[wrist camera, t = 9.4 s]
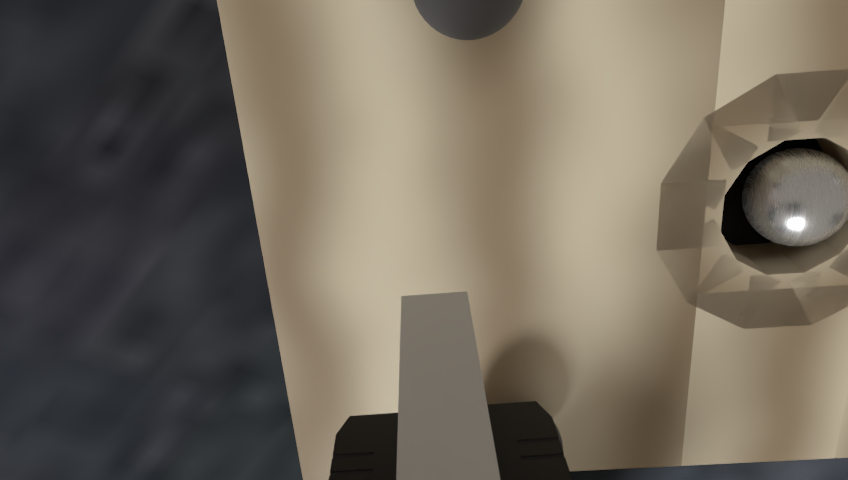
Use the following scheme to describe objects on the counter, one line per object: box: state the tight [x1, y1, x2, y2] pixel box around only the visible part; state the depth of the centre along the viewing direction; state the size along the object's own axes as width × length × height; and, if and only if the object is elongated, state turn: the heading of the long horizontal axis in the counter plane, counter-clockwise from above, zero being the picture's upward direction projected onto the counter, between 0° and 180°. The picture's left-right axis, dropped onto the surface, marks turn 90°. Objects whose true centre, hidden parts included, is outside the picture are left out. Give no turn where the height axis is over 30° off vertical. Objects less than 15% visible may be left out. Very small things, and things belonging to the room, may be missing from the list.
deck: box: [217, 0, 848, 480], centre depth 22 cm, size 24×20×2 cm
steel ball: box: [742, 148, 848, 246], centre depth 22 cm, size 3×3×3 cm
